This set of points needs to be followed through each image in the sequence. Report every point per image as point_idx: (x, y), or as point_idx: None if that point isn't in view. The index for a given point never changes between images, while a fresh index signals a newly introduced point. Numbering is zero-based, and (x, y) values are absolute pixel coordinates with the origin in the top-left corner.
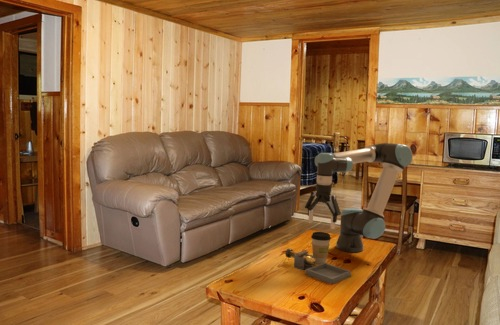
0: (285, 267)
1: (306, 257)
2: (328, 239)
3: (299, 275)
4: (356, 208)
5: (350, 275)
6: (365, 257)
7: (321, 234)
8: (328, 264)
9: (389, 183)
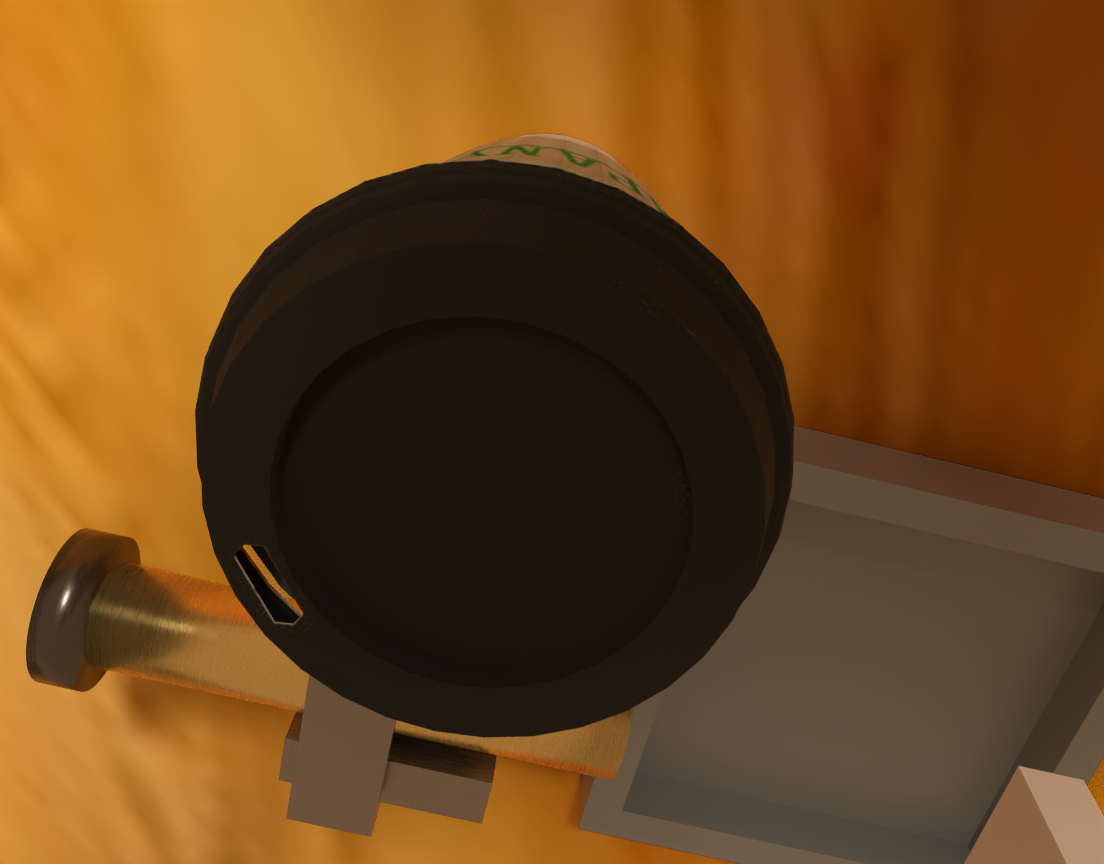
0: (249, 709)
1: (477, 749)
2: (767, 550)
3: (535, 829)
4: None
5: None
6: None
7: (475, 468)
8: (798, 491)
9: None
